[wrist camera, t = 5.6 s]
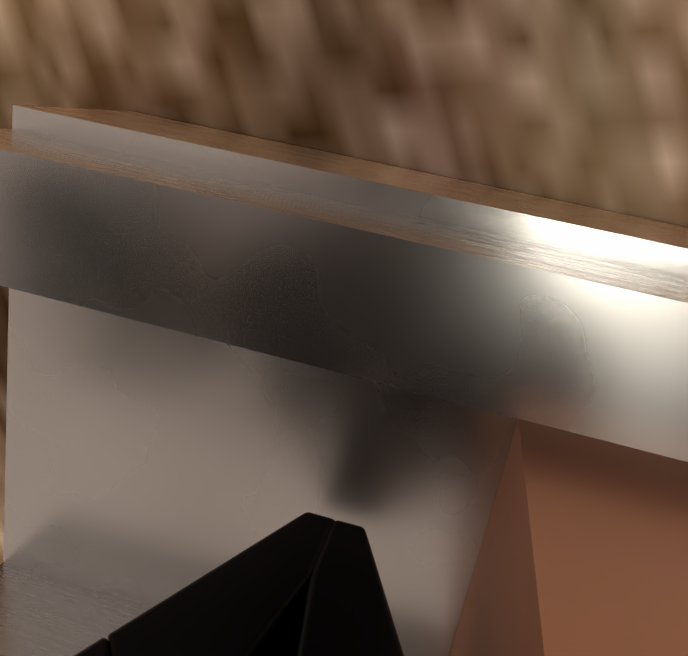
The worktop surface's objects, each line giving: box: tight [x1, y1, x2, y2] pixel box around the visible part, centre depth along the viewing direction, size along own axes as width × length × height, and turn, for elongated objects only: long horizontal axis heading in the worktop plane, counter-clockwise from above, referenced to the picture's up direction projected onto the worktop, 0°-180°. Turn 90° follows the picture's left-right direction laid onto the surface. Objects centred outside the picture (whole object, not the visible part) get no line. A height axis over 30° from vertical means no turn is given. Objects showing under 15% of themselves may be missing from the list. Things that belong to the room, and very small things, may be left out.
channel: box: [0, 105, 688, 656], centre depth 9 cm, size 9×15×5 cm, turn 80°
